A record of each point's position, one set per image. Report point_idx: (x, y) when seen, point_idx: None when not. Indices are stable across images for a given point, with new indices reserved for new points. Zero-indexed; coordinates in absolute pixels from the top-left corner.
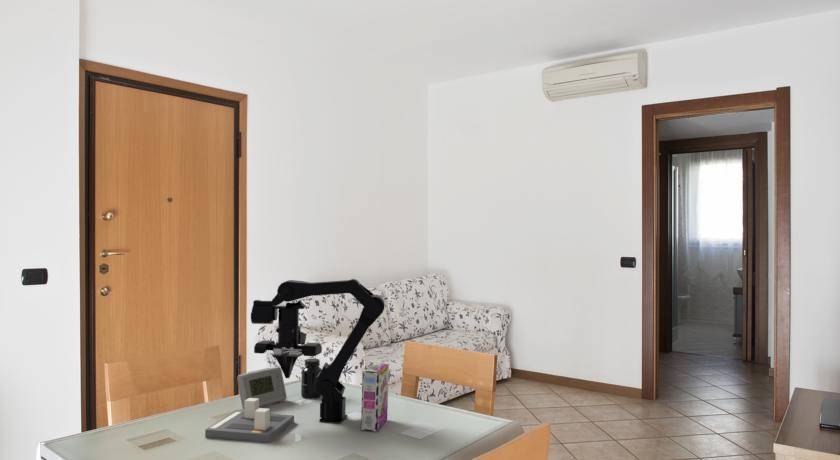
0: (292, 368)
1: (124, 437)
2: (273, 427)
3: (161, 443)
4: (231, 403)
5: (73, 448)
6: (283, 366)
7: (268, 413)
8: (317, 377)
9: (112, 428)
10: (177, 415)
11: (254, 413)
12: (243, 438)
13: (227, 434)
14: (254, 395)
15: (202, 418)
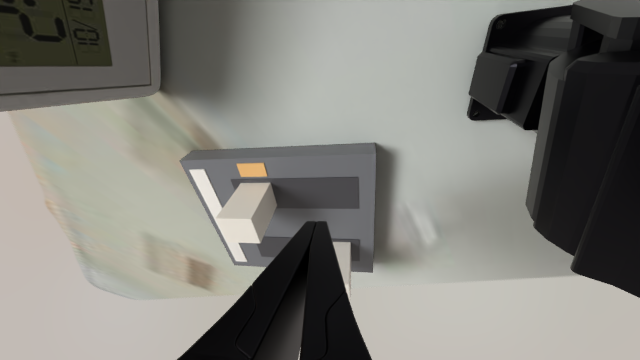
0: (341, 279)
1: (138, 265)
2: (360, 241)
3: (205, 275)
4: None
5: (135, 293)
6: (294, 350)
7: (349, 279)
8: (597, 278)
9: (79, 243)
10: (67, 169)
11: (272, 213)
12: None
13: None
14: (107, 50)
15: (131, 173)
